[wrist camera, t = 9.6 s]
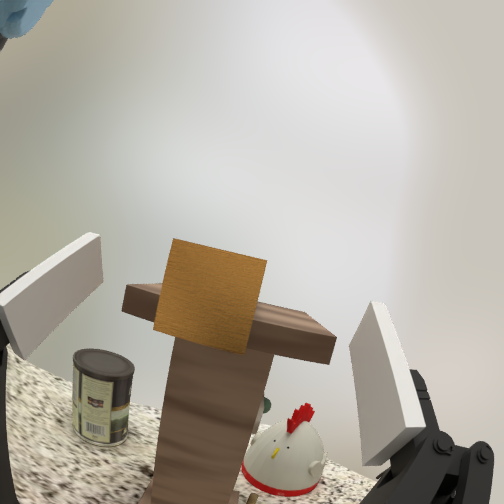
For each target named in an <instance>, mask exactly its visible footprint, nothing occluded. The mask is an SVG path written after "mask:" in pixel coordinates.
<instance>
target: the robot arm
mask: <svg viewBox="0 0 504 504" xmlns="http://www.w3.org/2000/svg"><path fill="white" fill-rule="evenodd" d="M52 2H53V0H0V52H1V50H2V48H3V47H4V45H5V43H6V41H7V39H8V38H9V39H12V38H14V37H15V38H17V37H21V36H23V35H25V34H26V33H27V32H28V31H29V30H31V29H32V27H33V26H34V25H35V24H36V23H37V22H38V20H39V19H40V18H41V16H42V15H43V13H44V11H45V10H46V8H47V7H48V6H50V4H51V3H52ZM101 283H103V271H102V259H101V242H100V235H99V234H94V233H91V232H88V233H86V234H85V235H83V236H81V237H80V238H78V239H77V240H75V241H73V242H72V243H70V244H69V245H67V246H66V247H64V248H63V249H61V250H60V251H58V252H57V253H55V254H54V255H52V256H51V257H49V258H48V259H47V260H45V261H43V262H42V263H41V264H39V265H38V266H36V267H35V268H33V269H32V270H30V271H27V272H25V273H23V274H22V275H20V276H19V277H17V278H16V280H14V281H12V282H11V283H10V285H7V286H5V287H4V288H3V289H2V290H0V504H20V503H19V502H18V500H17V497H16V494H15V489H14V484H13V479H12V473H11V467H10V460H9V452H8V443H7V430H6V402H5V398H6V369H7V356H8V351H7V348H6V346H7V345H8V344H9V343H10V345H11V347H12V349H13V351H14V353H15V354H16V355H18V356H19V357H21V358H22V359H23V360H26V359H27V358H28V357H29V356H30V355H31V354H32V352H33V351H34V350H35V349H36V348H37V347H38V346H39V345H40V344H41V342H43V341H44V340H45V339H46V338H47V336H48V335H49V334H50V333H51V332H52V331H53V330H54V329H55V328H56V327H57V326H58V325H59V324H60V323H61V322H62V321H63V320H64V319H65V318H66V317H67V316H68V315H69V314H70V313H71V312H72V311H73V310H74V309H75V308H76V307H77V306H78V305H79V304H80V303H81V302H83V301H84V300H85V299H86V298H87V297H88V296H89V295H90V294H91V293H92V292H93V291H94V290H95V289H96V288H97V287H98V286H99V285H100V284H101ZM349 348H350V355H351V362H352V368H353V375H354V383H355V390H356V399H357V406H358V407H357V408H358V417H359V427H360V438H361V451H362V465H363V466H379V465H382V464H383V463H385V462H386V461H387V460H389V459H390V463H391V466H390V467H389V468H388V469H386V470H385V471H384V472H382V473H381V474H379V475H378V476H377V477H376V479H379V478H380V477H381V478H380V479H379V481H378V482H377V483H376V484H375V486H374V487H373V488H372V489H371V491H370V492H369V493H368V494H367V495H366V497H365V498H364V499H363V500H362V501H361V502H360V503H359V504H489V500H490V494H491V486H492V477H493V468H494V453H493V451H492V448H491V447H490V446H489V445H488V444H487V443H485V442H483V441H479V442H476V443H475V444H473V445H472V446H471V447H470V448H465V447H460V446H457V445H455V444H454V442H453V440H452V438H451V437H450V436H449V435H448V434H447V433H445V432H443V431H440V430H439V426H438V423H437V419H436V416H435V413H434V409H433V406H432V403H431V400H430V397H429V394H428V392H427V387H426V384H425V381H424V379H423V378H422V376H421V375H420V374H419V372H418V371H417V370H410V369H409V367H408V364H407V361H406V358H405V355H404V352H403V349H402V347H401V344H400V341H399V338H398V335H397V333H396V330H395V327H394V325H393V322H392V320H391V317H390V315H389V312H388V309H387V307H386V304H383V303H379V302H373V301H370V304H369V306H368V308H367V310H366V312H365V314H364V316H363V318H362V321H361V323H360V325H359V327H358V329H357V331H356V333H355V335H354V337H353V339H352V341H351V343H350V345H349ZM455 491H456V493H455Z"/></svg>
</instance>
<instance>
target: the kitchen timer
mask: <svg viewBox="0 0 504 504" xmlns="http://www.w3.org/2000/svg"><path fill="white" fill-rule="evenodd" d="M310 406H311V405H310V404H308V403H305V405H304V406H303V405H301V407H300V409H299V410H297V409H295V410H294V413H293V416H292V419H289V418H288V419H287V420H284V421H280V422H278V423H276V424H274V425H272V426H271V427H270V428H268V429H267V430H265V431H264V432H263V433H260V432H257V433H256V434H255V436H254V437H253V439H252V441H251V443H250V444H251V446H250V448H249V449H248V451H247V453H246V455H245V457H244V459H243V462H242V473H243V475H244V477H245V478H246V479H247V480H248V481H249V482H250V483H251V484H252V485H253V486H255V487H256V488H258V489H260V490H261V491H264V492H267V493H270V494H273V495H278V496H285V497H290V496H300V495H303V494H306V493H308V492H310V491H312V490H313V489H314V488H315V487H316V485H317V484H318V482H319V480H320V478H321V475H322V472H323V469H324V466H325V462H326V457H327V452H324V449H323V444H322V441H321V438H320V436H319V434H318V432H317V431H316V429H315V428H314V427H313V426H312V425H311V424H310V423H309V422H310V420H311V418H312V416H313V414H314V412H315V411H313V408H312V407H310Z"/></svg>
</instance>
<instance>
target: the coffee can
mask: <svg viewBox="0 0 504 504" xmlns="http://www.w3.org/2000/svg"><path fill="white" fill-rule="evenodd" d="M73 362H74V364H73V366H74V367H73V396H72V399H73V429H74V431H75V433H76V434H77V435H78V436H79V437H80V438H82V439H83V440H85V441H86V442H89V443H91V444H94V445H97V446H104V447H111V446H116V445H119V444H121V443H123V442H124V441H125V440H126V439H127V436H128V432H127V430H128V416H129V405H130V396H131V387H132V379H133V374H134V370H135V369H134V365H133V364H132V363H131V362H130V361H129V360H128V359H126V358H125V357H123V356H121V355H118V354H116V353H112V352H109V351H105V350H100V349H81V350H78V351H77V352H75V353H74V355H73Z"/></svg>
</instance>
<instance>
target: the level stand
mask: <svg viewBox="0 0 504 504" xmlns="http://www.w3.org/2000/svg"><path fill="white" fill-rule="evenodd" d="M162 284H163V283H159V284H130V285H126V290H125V295H124V300H123V306H122V312H125V313H128V314H131V315H134V316H136V317H140V318H142V319H146V320H148V321H151V322H155V317H156V312H157V307H158V302H159V297H160V293H161V288H162ZM336 339H337V337H336V336H335V335H333V334H332V333H331V332H329V331H328V330H327V329H325V328H324V327H323V326H322V325H321V324H319V323H318V322H317V321H315V320H314V319H312V317H310V316H309V315H308V314H306V313H305V312H302V311H297V310H292V309H288V308H283V307H279V306H275V305H270V304H266V303H261V302H257V305H256V309H255V313H254V318H253V322H252V326H251V330H250V334H249V338H248V342H247V346H246V350H245V354H244V355H240V354H236V353H232V352H228V351H224V350H220V349H216V348H212V347H209V346H205V345H202V344H198V343H195V342H191V341H188V340H184V339H181V338H178V337H175V341H174V346H173V351H172V356H171V362H170V367H169V373H168V378H167V384H166V390H165V396H164V402H163V408H162V415H161V421H160V428H159V435H158V442H157V450H156V458H155V466H154V475H153V478H152V480H151V482H150V484H149V485H148V487H147V489H146V490H145V492H144V494H143V496H142V497H141V499H140V501H139V502H138V504H238V499H239V491H234V490H233V489H234V486H235V483H236V480H237V477H238V474H239V471H240V468H241V465H242V462H243V459H244V456H245V453H246V449H247V446H248V443H249V440H250V437H251V434H256V433H257V430H258V427H259V424H260V421H261V417H262V414H263V413H267V412H268V411H269V410H270V408H271V402H270V400H269V399H267V398H265V397H264V390H265V386H266V383H267V379H268V376H269V371H270V368H271V365H272V361H273V357H274V355H279V356H284V357H289V358H294V359H300V360H304V361H310V362H316V363H321V364H327V365H329V363H330V360H331V356H332V353H333V349H334V346H335V342H336ZM257 498H258V495H257V494H255V493H251V494H250V496H249V498H248V501H247V503H246V504H255V503H256V501H257Z"/></svg>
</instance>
